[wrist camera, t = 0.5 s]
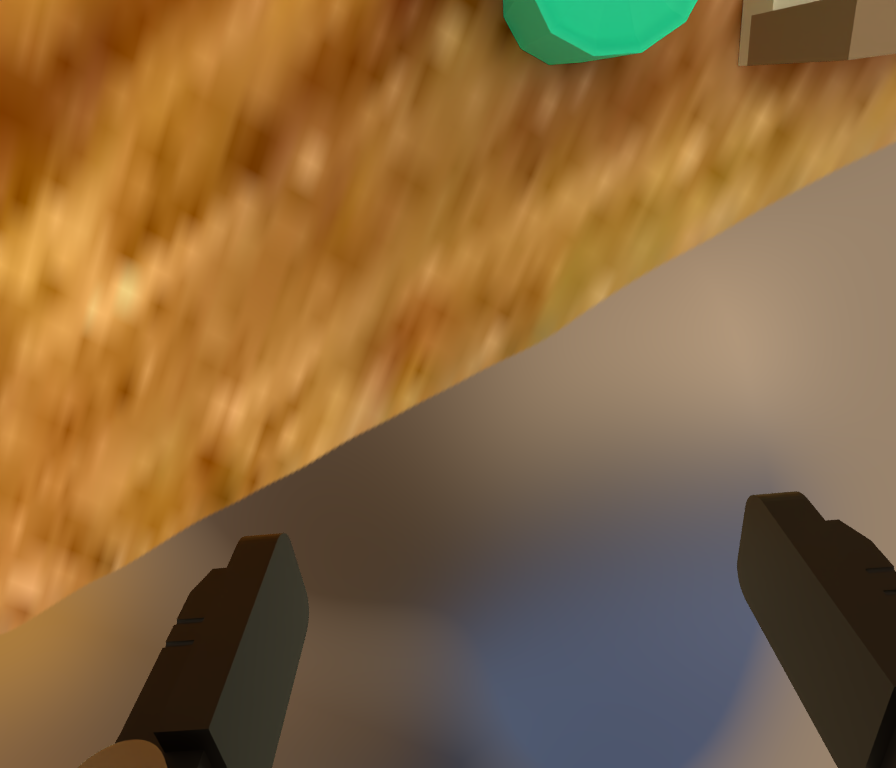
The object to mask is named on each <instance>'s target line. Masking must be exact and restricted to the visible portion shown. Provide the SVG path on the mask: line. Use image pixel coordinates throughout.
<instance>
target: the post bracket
mask: <svg viewBox="0 0 896 768" xmlns="http://www.w3.org/2000/svg"><path fill="white" fill-rule="evenodd" d="M890 54H896V0H743V11H742V24H741V36H740V48H739V61H738V66H750V65H768V64H786V63H804V62H822V61H840V60H852V59H860V58H867V57H875V56H882V55H890Z"/></svg>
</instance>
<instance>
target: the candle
mask: <svg viewBox="0 0 896 768" xmlns="http://www.w3.org/2000/svg"><path fill="white" fill-rule="evenodd" d="M697 1H698V0H503V17H504V19H505V21H506V23H507V24H508V26H509V28H510V30H511V32H512V34H513V35H514V37H515V39H516V41H517V43H518V45H519V47H520V48H521V49H522V50H524V51H526V52H527V53H529V54H531V55H533V56H534V57H536V58H538V59H540V60H541V61H543V62H545V63H547V64H548V65H555V64H568V63H581V62H588V61H594V60H600V59H606V58H612V57H618V56H624V55H631V54H637V53H642V52H643V51H645V50H646V49H648V48H649V47H650V46H652V45H653V44H655V43H656V42H658V41H659V40H660V39H662V38H663V37H665V36H666V35H668V34H669V33H670V32H672V31H673V30H675V29H676V28H678V27H679V26H680V25H682V24H683V23H685V22H686V21H687V19H688V17H689V15H690V13H691V11H692V10H693V8H694V6H695V4H696V2H697Z"/></svg>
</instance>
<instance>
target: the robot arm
mask: <svg viewBox="0 0 896 768" xmlns="http://www.w3.org/2000/svg"><path fill="white" fill-rule="evenodd" d="M737 571H738V578H739V583H740V587H741V589H742V592H743V595H744V597H745V599H746V601H747V603H748V605H749V607H750V609H751V610H752V612H753V614H754V616H755V618H756V620H757V621H758V623H759V625H760V627H761V629H762V631H763V632H764V634H765V636H766V638H767V639H768V641H769V643H770V645H771V647H772V649H773V650H774V652H775V654H776V656H777V658H778V660H779V661H780V663H781V665H782V667H783V668H784V671H785V672H786V674H787V676H788V678H789V680H790V682H791V683H792V685H793V687H794V689H795V691H796V692H797V694H798V696H799V698H800V700H801V702H802V703H803V705H804V707H805V709H806V711H807V712H808V714H809V716H810V718H811V720H812V721H813V723H814V725H815V727H816V729H817V730H818V732H819V734H820V736H821V738H822V740H823V742H824V743H825V745H826V747H827V749H828V750H829V752H830V754H831V756H832V758H833V760H834V762H835V763H836V765H837V767H838V768H896V572H895V570H894V566H893V565H892V564H891V563H890V562H889V560H888V559H887V558H886V557H885V556H884V555H883V554H882V553H881V551H880V550H879V549H878V548H877V547H876V546H875V544H874V543H873V542H872V541H871V540H869V539H868V538H866V537H865V536H863V535H862V534H860V533H859V532H857V531H855V530H854V529H852V528H851V527H849V526H848V525H846V524H844V523H843V522H841V521H840V520H828V521H825V520H824V518H823V517H822V516H821V515H820V514H819V512H818V511H817V510H816V509H815V507H814V506H813V505H812V504H811V503H810V501H809V500H808V499H807V498H806V497H805V496H804V495H803V494H802V493H800V492H784V493H772V494H760V495H752V496H750V497H749V498H748V500H747V502H746V506H745V513H744V520H743V526H742V534H741V540H740V547H739V553H738V561H737ZM308 616H309V606H308V597H307V593H306V589H305V586H304V583H303V580H302V577H301V573H300V570H299V567H298V564H297V560H296V557H295V554H294V550H293V547H292V544H291V541H290V539H289V537H288V535H287V534H285V533H279V534H268V535H256V536H245V537H242V538H241V539H240V540H239V542H238V544H237V546H236V548H235V550H234V553H233V555H232V557H231V559H230V562H229V564H228V566H227V568H219V569H212V570H211V571H210V573H209V574H208V575H207V576H206V577H205V578H204V579H203V580H202V581H201V582H200V583H199V584H198V585H197V586H196V587H195V588H194V589H193V590H192V591H191V592H190V594H189V596H188V598H187V600H186V602H185V604H184V606H183V608H182V610H181V612H180V614H179V616H178V618H177V624H176V625H174V626H173V629H172V630H171V632H170V634H169V636H168V638H167V640H166V647H165V648H162V650H161V652H160V654H159V657H158V659H157V661H156V663H155V665H154V667H153V669H152V671H151V673H150V675H149V677H148V679H147V681H146V683H145V685H144V687H143V689H142V691H141V693H140V695H139V697H138V699H137V701H136V703H135V705H134V707H133V709H132V711H131V713H130V715H129V717H128V719H127V721H126V723H125V725H124V727H123V730H122V732H121V733H120V735H119V737H118V739H117V740H116V742H115V744H113V745H110V746H108V747H106V748H104V749H102V750H100V751H98V752H97V753H96V754H94V755H93V756H91V757H90V758H88V759H87V760H86V761H85V762H83V763H82V764H81V765H80V766H79V767H78V768H272V765H273V761H274V757H275V753H276V749H277V745H278V741H279V738H280V734H281V730H282V726H283V722H284V718H285V714H286V710H287V706H288V702H289V699H290V694H291V691H292V687H293V683H294V679H295V675H296V671H297V667H298V663H299V659H300V655H301V652H302V648H303V644H304V640H305V636H306V632H307V627H308V618H309V617H308Z"/></svg>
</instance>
